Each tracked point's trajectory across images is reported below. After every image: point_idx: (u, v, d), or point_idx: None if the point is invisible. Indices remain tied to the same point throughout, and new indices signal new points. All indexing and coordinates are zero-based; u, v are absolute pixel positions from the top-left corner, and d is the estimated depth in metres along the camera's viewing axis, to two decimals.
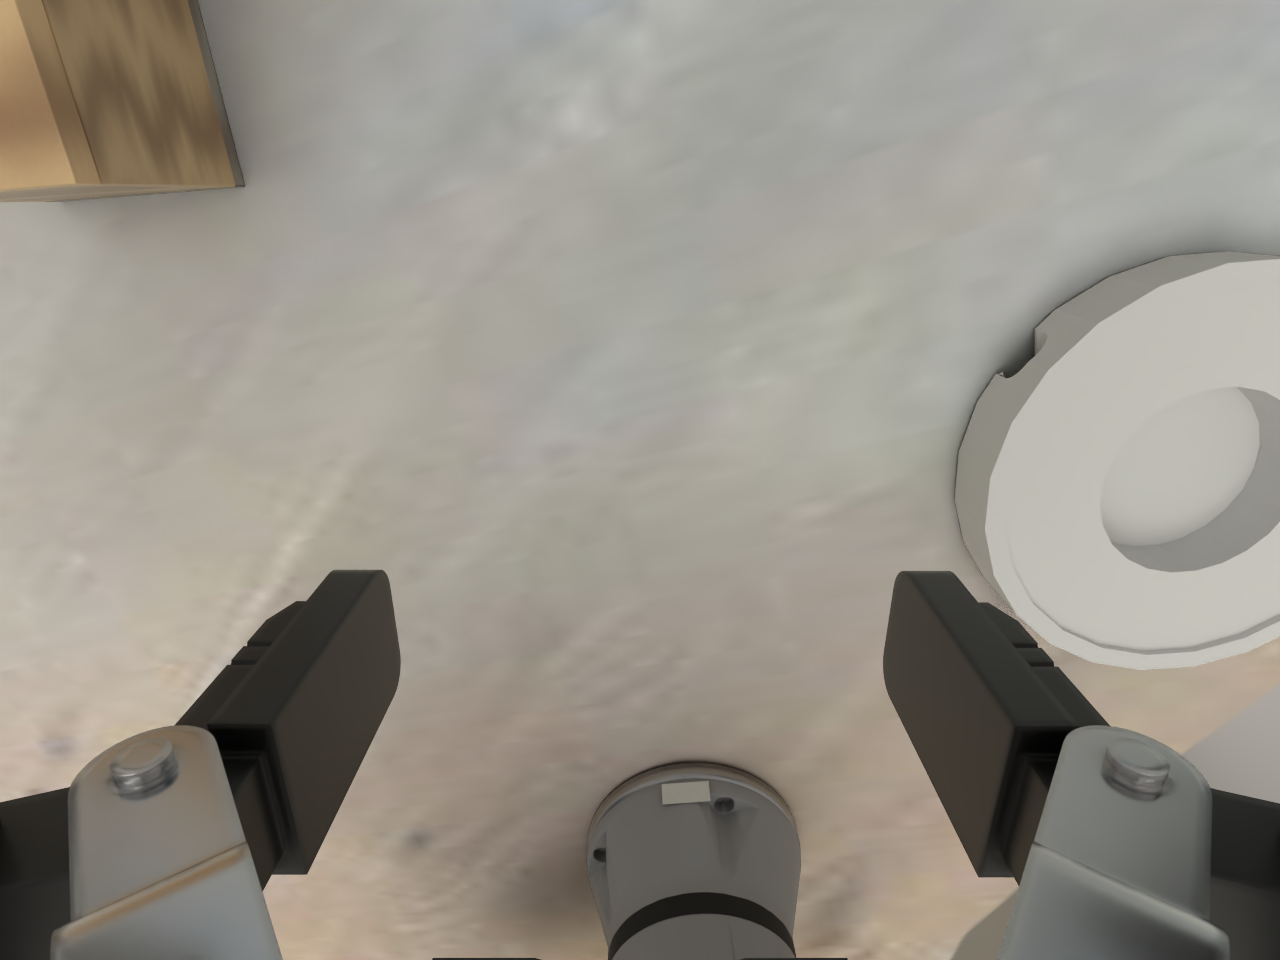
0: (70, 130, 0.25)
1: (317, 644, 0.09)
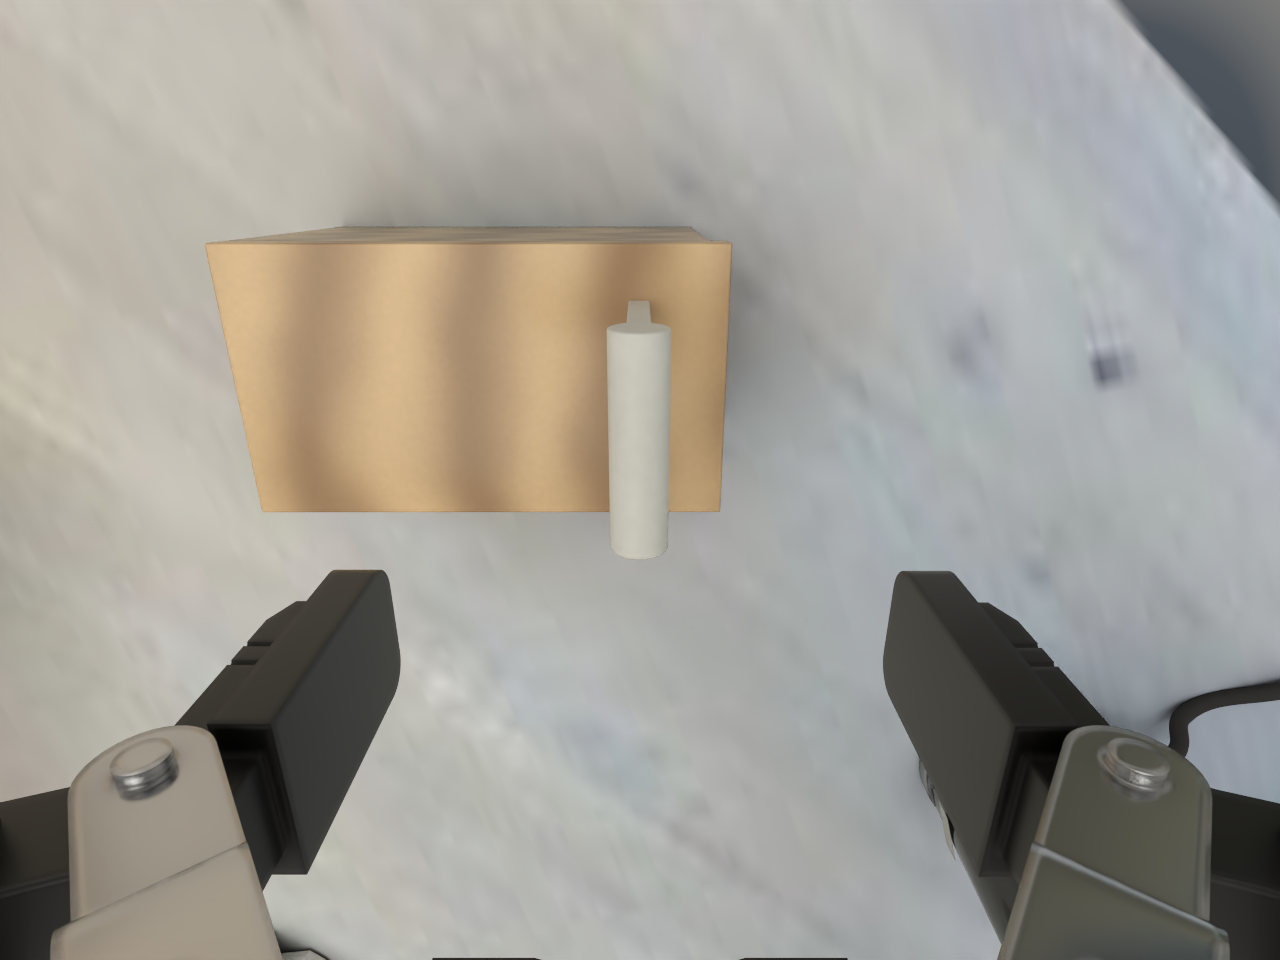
0: None
1: (317, 644, 0.09)
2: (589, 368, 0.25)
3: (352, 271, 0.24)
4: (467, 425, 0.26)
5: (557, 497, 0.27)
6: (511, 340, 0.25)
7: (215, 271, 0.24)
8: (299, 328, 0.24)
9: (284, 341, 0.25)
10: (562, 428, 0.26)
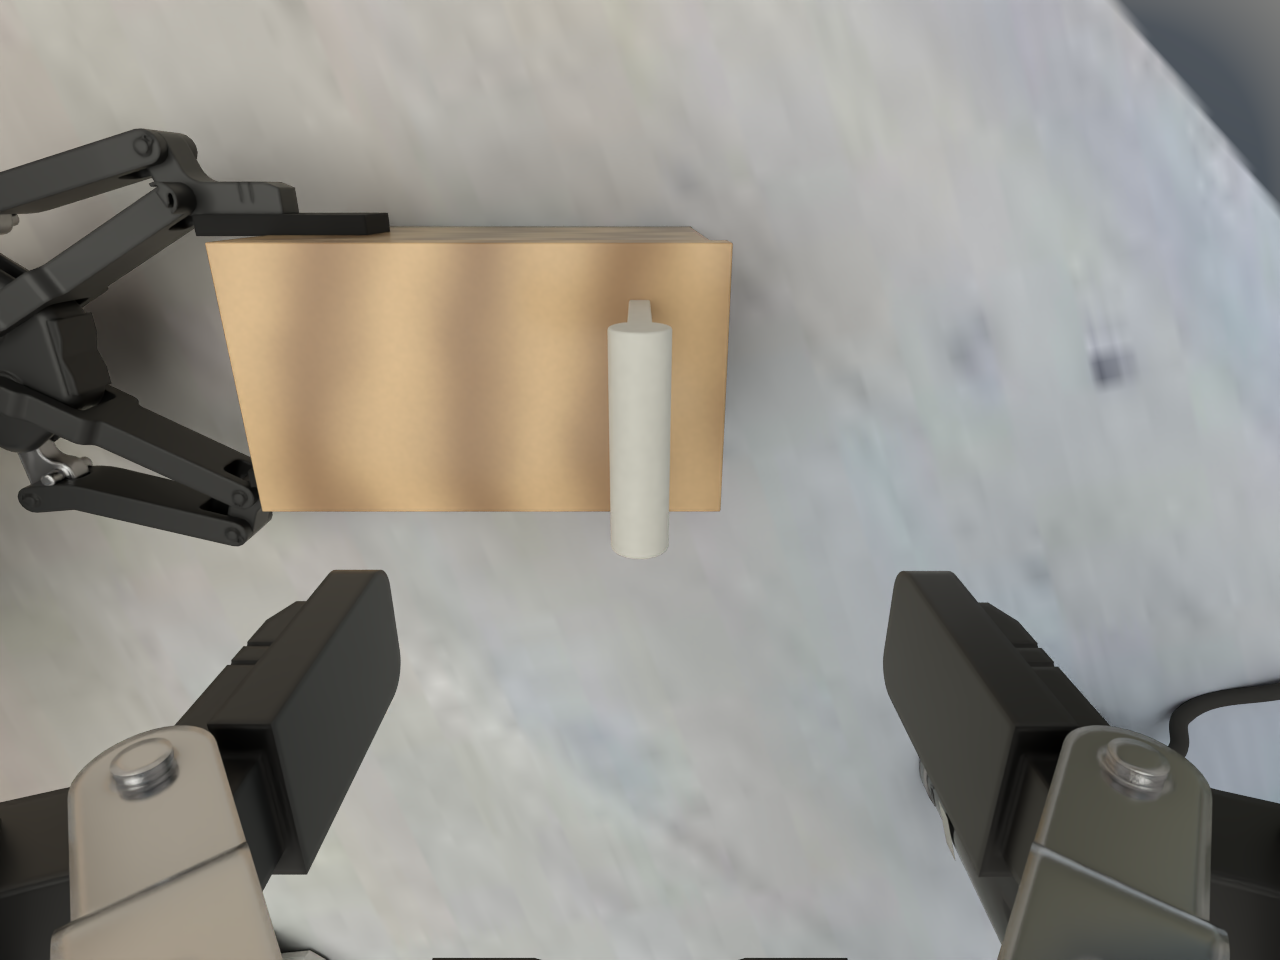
0: None
1: (317, 644, 0.09)
2: (590, 368, 0.25)
3: (352, 270, 0.24)
4: (467, 424, 0.26)
5: (557, 497, 0.27)
6: (512, 339, 0.25)
7: (215, 269, 0.24)
8: (299, 327, 0.24)
9: (284, 340, 0.25)
10: (562, 428, 0.26)
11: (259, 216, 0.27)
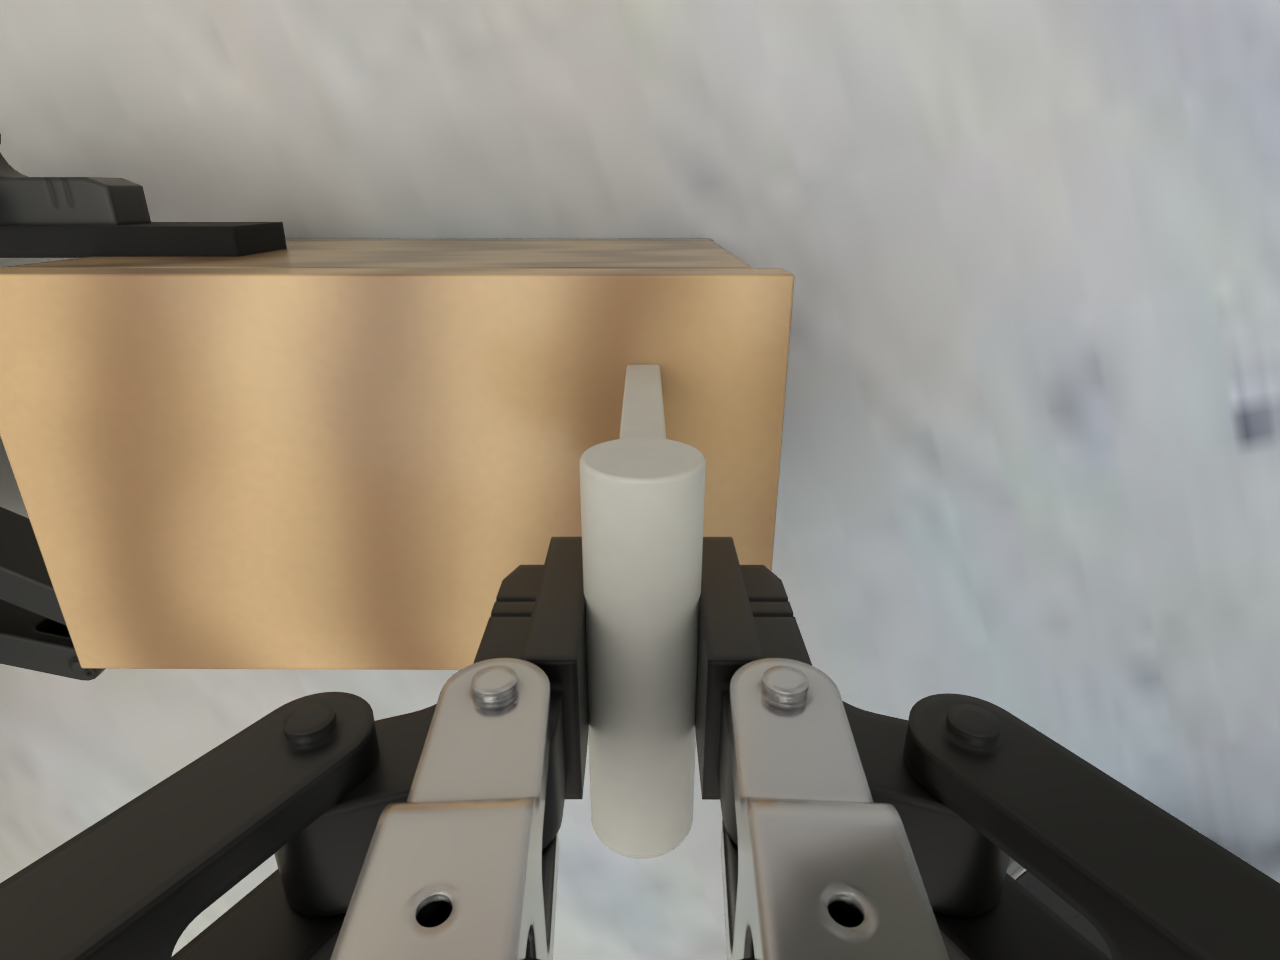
0: None
1: (576, 597, 0.10)
2: (565, 466, 0.16)
3: (184, 318, 0.15)
4: (380, 548, 0.17)
5: None
6: (442, 424, 0.16)
7: None
8: (109, 405, 0.16)
9: (87, 425, 0.16)
10: (525, 553, 0.17)
11: (76, 229, 0.18)
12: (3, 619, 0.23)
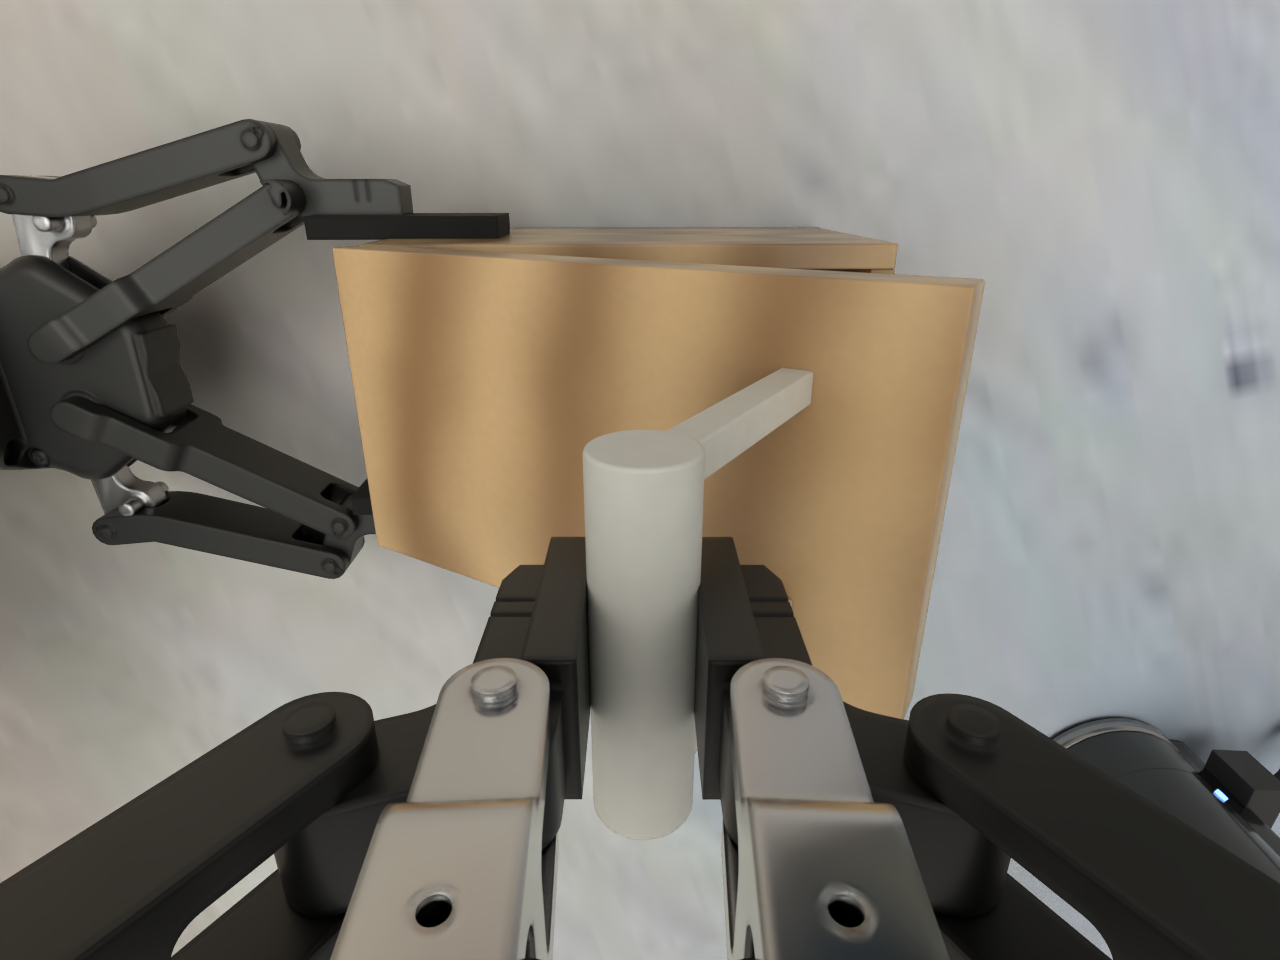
0: None
1: (576, 597, 0.10)
2: None
3: (453, 290, 0.19)
4: (563, 502, 0.19)
5: None
6: (618, 402, 0.17)
7: (339, 278, 0.21)
8: (406, 352, 0.20)
9: (394, 365, 0.21)
10: None
11: (379, 217, 0.24)
12: (266, 530, 0.29)
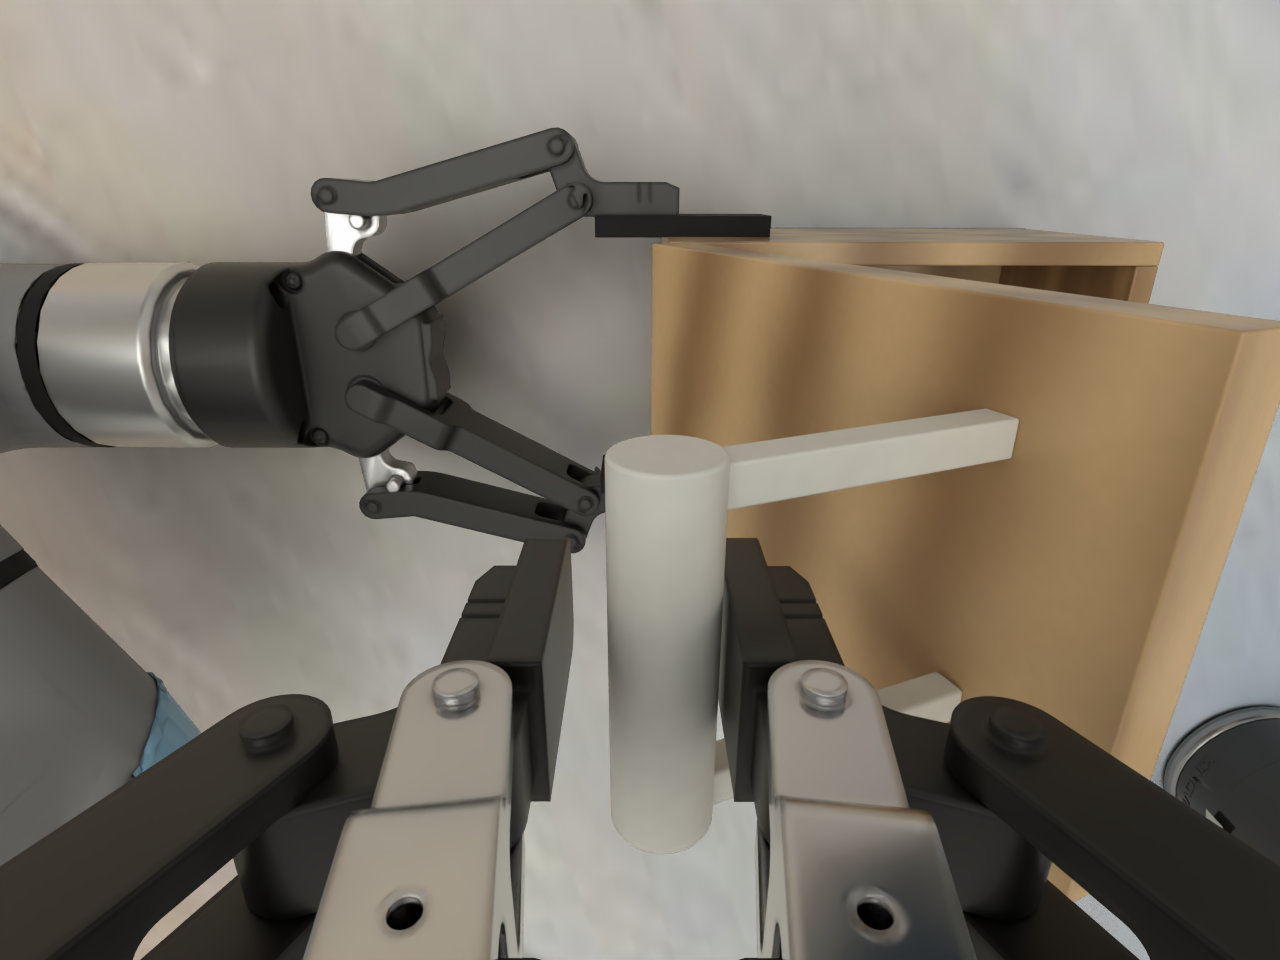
0: None
1: (546, 598, 0.10)
2: (908, 503, 0.14)
3: (721, 288, 0.20)
4: (775, 513, 0.19)
5: None
6: (829, 419, 0.16)
7: (653, 271, 0.23)
8: (685, 343, 0.22)
9: (677, 353, 0.23)
10: (860, 577, 0.16)
11: (664, 217, 0.26)
12: (512, 507, 0.32)
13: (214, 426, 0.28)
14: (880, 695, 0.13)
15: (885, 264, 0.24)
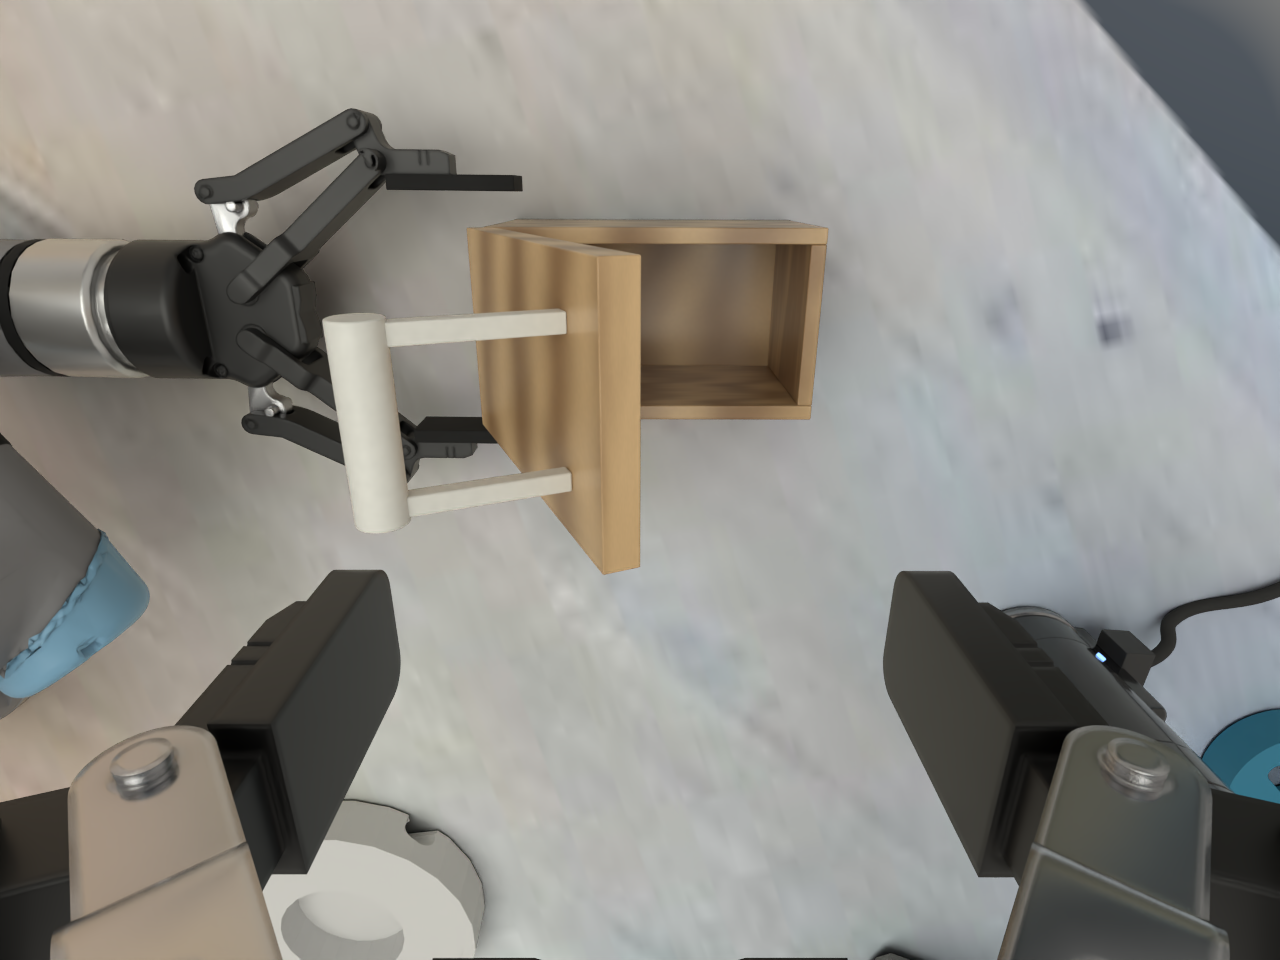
0: None
1: (317, 644, 0.09)
2: (549, 371, 0.25)
3: (490, 255, 0.30)
4: (519, 398, 0.29)
5: None
6: None
7: (468, 247, 0.34)
8: (483, 294, 0.32)
9: (481, 303, 0.33)
10: (543, 424, 0.26)
11: (435, 175, 0.36)
12: None
13: (138, 358, 0.38)
14: (523, 474, 0.24)
15: (636, 243, 0.35)
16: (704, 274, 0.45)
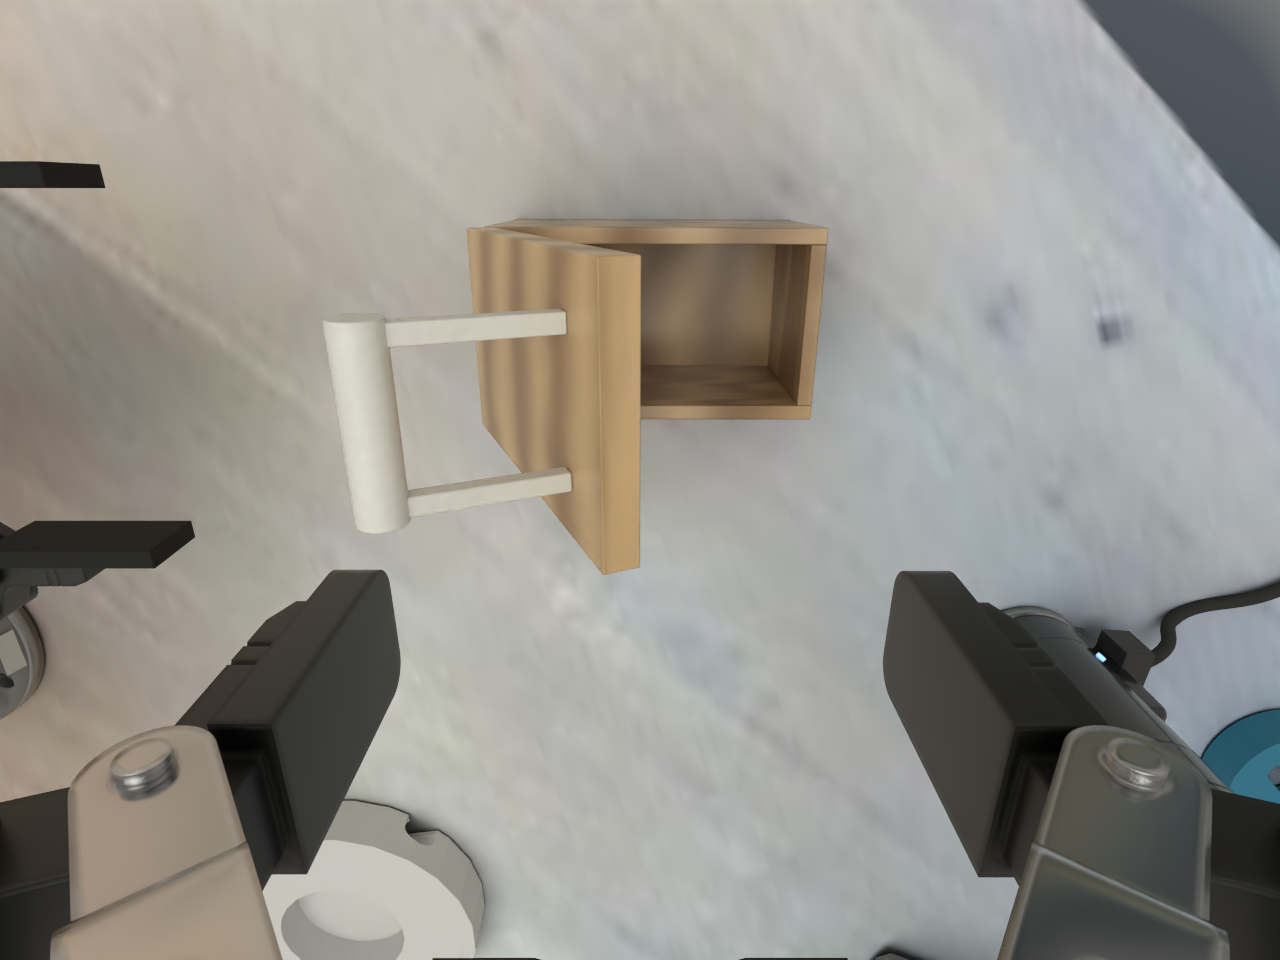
0: None
1: (317, 644, 0.09)
2: (549, 371, 0.25)
3: (490, 255, 0.30)
4: (519, 398, 0.29)
5: None
6: None
7: (468, 247, 0.34)
8: (483, 295, 0.32)
9: (481, 303, 0.33)
10: (543, 424, 0.26)
11: None
12: None
13: None
14: (523, 474, 0.24)
15: (636, 243, 0.35)
16: (704, 274, 0.45)
